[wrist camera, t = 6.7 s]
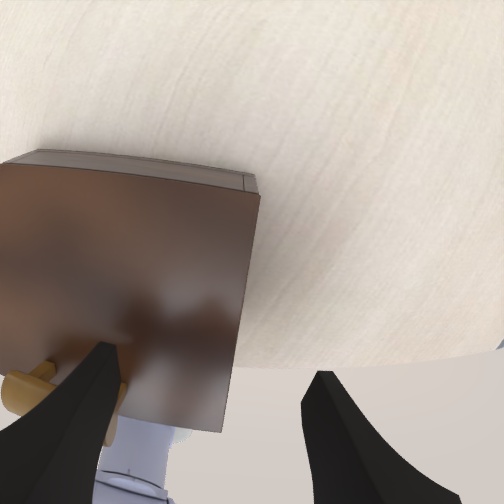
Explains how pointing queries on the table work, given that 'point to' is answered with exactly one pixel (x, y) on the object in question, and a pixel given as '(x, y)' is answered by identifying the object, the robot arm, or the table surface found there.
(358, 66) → the table surface
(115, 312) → the box lid
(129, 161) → the keepsake box
